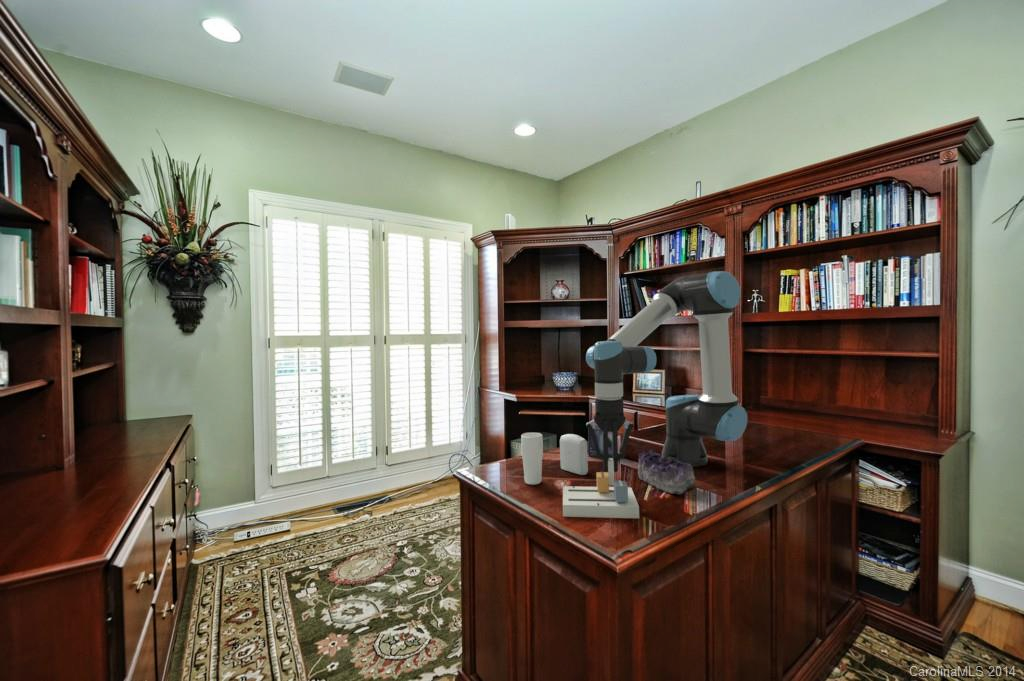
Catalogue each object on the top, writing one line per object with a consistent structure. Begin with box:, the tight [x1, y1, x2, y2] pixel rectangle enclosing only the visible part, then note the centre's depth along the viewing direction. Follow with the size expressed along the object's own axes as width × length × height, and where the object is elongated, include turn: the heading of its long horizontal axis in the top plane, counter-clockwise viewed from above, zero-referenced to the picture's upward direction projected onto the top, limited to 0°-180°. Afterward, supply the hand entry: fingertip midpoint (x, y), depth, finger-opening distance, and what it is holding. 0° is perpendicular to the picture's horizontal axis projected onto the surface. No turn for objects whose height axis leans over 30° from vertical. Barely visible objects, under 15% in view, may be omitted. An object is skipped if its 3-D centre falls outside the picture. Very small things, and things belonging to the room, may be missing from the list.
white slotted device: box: [559, 433, 589, 476], centre depth 144 cm, size 10×4×12 cm, turn 39°
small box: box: [587, 425, 613, 458], centre depth 162 cm, size 11×6×10 cm, turn 81°
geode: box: [637, 448, 696, 496], centre depth 131 cm, size 20×12×10 cm, turn 27°
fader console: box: [562, 485, 640, 519], centre depth 115 cm, size 19×13×3 cm
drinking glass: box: [520, 432, 544, 486], centre depth 135 cm, size 7×7×15 cm
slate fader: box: [613, 479, 629, 502], centre depth 111 cm, size 3×4×4 cm
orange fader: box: [595, 471, 610, 492], centre depth 118 cm, size 3×4×4 cm
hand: (610, 483), depth 118 cm, fingers closed
